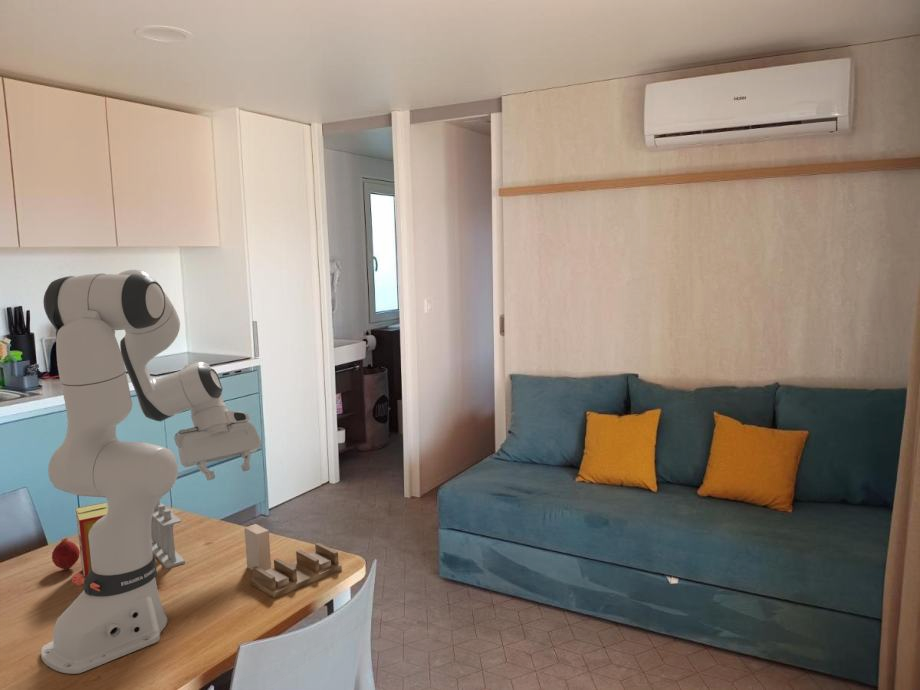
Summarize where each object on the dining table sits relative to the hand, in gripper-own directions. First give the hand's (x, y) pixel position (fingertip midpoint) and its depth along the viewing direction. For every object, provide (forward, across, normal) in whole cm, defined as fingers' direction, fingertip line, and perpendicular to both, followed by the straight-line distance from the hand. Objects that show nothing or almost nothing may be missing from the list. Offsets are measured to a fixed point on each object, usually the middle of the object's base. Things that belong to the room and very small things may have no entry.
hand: (229, 474), depth 172 cm
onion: (+6, -32, +30) cm, 44 cm away
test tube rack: (+9, -11, +26) cm, 29 cm away
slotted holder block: (+30, +4, -9) cm, 31 cm away
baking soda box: (+10, -27, +23) cm, 37 cm away
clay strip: (+24, 0, 0) cm, 24 cm away
